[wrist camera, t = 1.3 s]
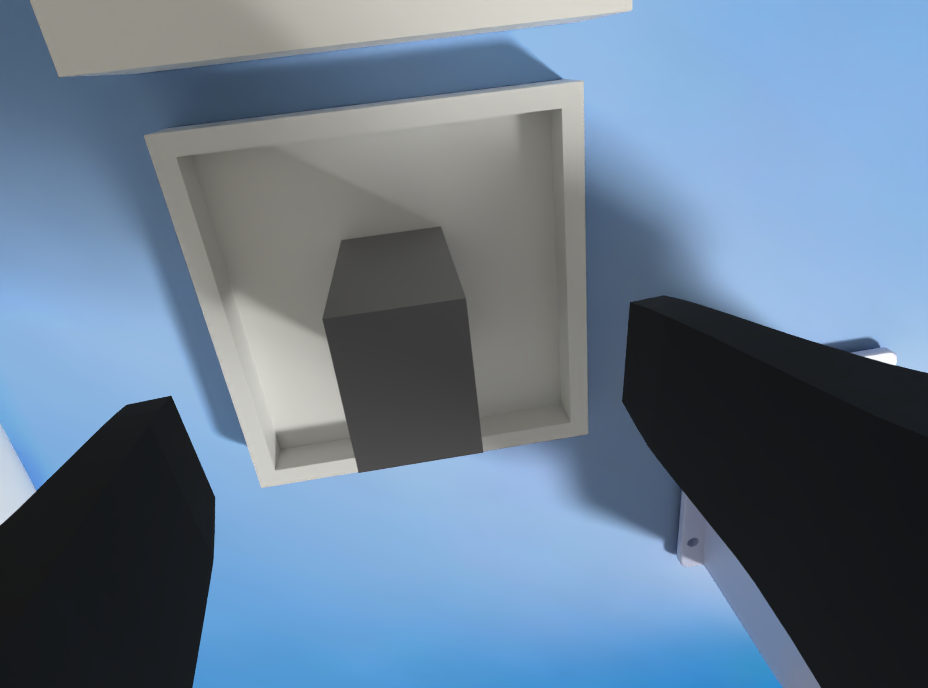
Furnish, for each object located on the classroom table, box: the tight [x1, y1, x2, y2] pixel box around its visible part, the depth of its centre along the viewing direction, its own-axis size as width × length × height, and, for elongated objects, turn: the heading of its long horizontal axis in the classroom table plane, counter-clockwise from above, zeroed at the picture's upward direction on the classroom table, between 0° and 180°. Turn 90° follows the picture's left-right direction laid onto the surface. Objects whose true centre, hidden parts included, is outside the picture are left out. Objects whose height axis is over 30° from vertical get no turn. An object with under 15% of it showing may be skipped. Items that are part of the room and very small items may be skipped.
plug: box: [322, 226, 483, 473], centre depth 16 cm, size 4×3×6 cm
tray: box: [144, 79, 588, 488], centre depth 18 cm, size 11×11×2 cm
